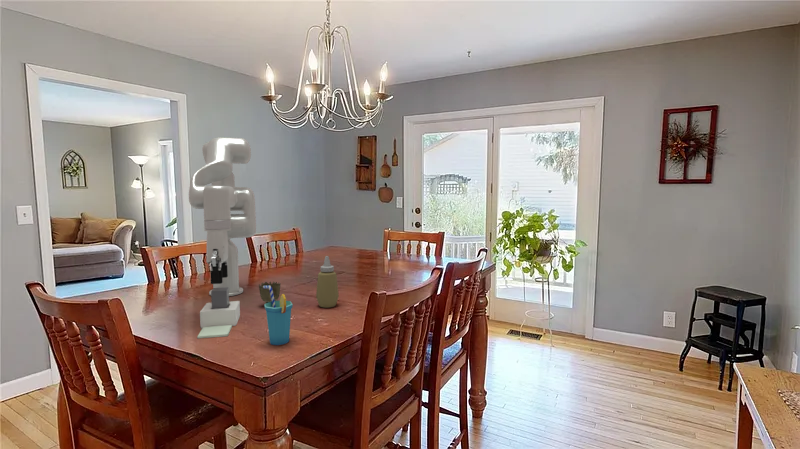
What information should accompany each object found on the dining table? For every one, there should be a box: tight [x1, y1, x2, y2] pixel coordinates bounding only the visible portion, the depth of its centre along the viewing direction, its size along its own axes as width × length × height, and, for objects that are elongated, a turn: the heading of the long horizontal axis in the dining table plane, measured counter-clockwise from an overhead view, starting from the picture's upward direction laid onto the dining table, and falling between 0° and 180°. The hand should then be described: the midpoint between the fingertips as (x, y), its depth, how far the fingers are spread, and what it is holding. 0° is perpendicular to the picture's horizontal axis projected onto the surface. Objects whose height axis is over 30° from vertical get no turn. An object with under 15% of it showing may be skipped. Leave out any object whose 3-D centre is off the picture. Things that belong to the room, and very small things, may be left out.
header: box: [199, 300, 241, 329], centre depth 131 cm, size 10×10×5 cm
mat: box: [197, 325, 233, 339], centre depth 122 cm, size 8×8×1 cm
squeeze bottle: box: [315, 255, 340, 309], centre depth 148 cm, size 8×8×18 cm
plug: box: [210, 287, 230, 309], centre depth 131 cm, size 4×4×10 cm
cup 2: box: [258, 281, 281, 304], centre depth 149 cm, size 8×7×8 cm
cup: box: [263, 286, 293, 346], centre depth 115 cm, size 14×8×15 cm, turn 46°
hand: (219, 280), depth 130 cm, fingers open, 9 cm apart
